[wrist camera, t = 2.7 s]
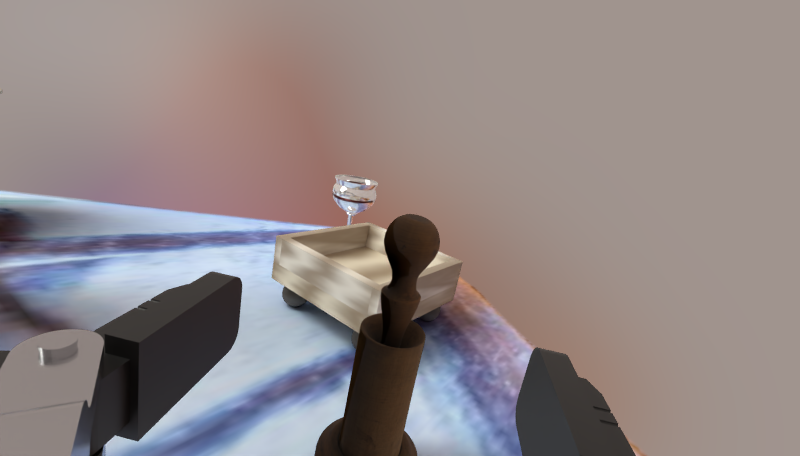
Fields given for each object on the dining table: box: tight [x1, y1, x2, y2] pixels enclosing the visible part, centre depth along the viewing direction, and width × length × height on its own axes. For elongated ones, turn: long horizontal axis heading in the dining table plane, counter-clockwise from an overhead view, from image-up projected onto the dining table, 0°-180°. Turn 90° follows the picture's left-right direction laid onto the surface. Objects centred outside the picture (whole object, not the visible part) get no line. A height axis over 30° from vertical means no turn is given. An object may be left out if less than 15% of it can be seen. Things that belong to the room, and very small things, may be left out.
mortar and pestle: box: [315, 214, 440, 456], centre depth 24 cm, size 7×6×18 cm
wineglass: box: [333, 175, 378, 225], centre depth 63 cm, size 7×7×12 cm
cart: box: [272, 222, 463, 349], centre depth 46 cm, size 15×15×8 cm
